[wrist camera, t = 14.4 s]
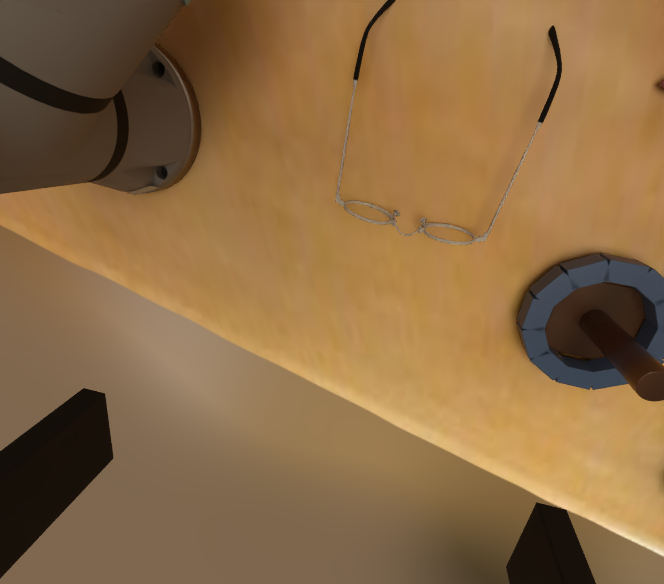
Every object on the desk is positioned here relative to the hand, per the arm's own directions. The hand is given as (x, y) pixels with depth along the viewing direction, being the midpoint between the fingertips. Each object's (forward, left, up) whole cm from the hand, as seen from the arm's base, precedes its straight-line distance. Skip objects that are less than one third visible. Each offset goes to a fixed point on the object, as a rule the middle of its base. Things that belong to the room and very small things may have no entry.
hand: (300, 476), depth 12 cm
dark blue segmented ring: (+21, -4, -30) cm, 37 cm away
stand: (+22, -4, -31) cm, 38 cm away
